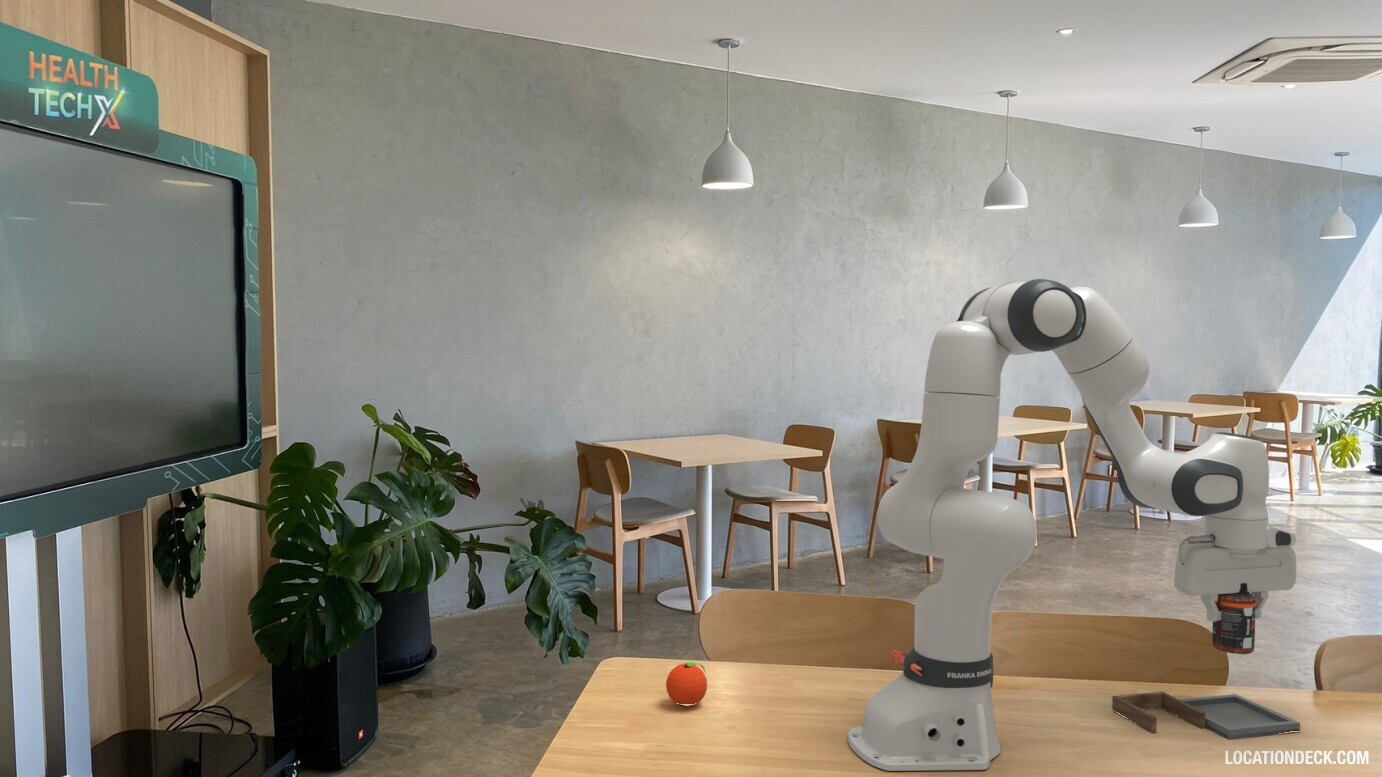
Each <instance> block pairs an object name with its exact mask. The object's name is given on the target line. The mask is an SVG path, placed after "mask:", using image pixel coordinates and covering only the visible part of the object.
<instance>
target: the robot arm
mask: <svg viewBox="0 0 1382 777" xmlns="http://www.w3.org/2000/svg"><path fill="white" fill-rule="evenodd" d="M1050 351H1052V352H1053V353H1054V355H1056V356H1057V358H1058V360H1059V362H1060V363H1061V366H1063V368H1064V370H1065V371H1066V373H1067V374H1068V375H1069V377H1070V379H1071V380H1072V381H1073V383H1074V385H1075V386H1076V388H1077V390H1078V392H1079V394H1080V396H1081V399H1082V403H1083V406H1084V408H1085V410H1086V412H1087V414H1088V417H1089V418H1090V420H1091V421H1092V423H1093V424H1092V425H1094V427H1095V430H1096V431H1097V433H1098V435H1099V437H1100V438H1101V440H1102V442H1103V444H1104V445H1105V448H1106V449H1107V451H1108V453H1109V455H1110V456H1111V458H1112V461H1113V463H1114V468H1115V471H1116V476H1117V477H1116V478H1117V482H1118V484H1119V487H1120V491H1121V492H1122V494H1123V495H1124V497H1125V498H1126V499H1127V500H1128V501H1129V502H1131V503H1132V505H1135V506H1137V507H1140V508H1144V509H1145V508H1146V509H1153V510H1159V511H1165V512H1169V513H1173V514H1178V515H1183V516H1187V517H1188V516H1189V517H1203V516H1204V534H1203V535H1197V536H1196V535H1189V536H1186V538H1185V539H1183V540H1182V541H1181V543H1179V545H1178V554H1177V558H1176V563H1175V570H1174V578H1173V579H1174V580H1173V585H1174V587H1175V589H1176V590H1177V592H1179V593H1181V594H1184V595H1187V596H1191V597H1196V596H1197V597H1198V596H1200V600H1201V602H1202V604H1203V606H1204V607H1205V609H1206V619H1207V620H1208V621H1210V622H1212V623H1213V622H1217V621H1222V620H1223V618H1222V615H1223V611H1221V610H1218V608H1217V606H1216V604H1215V602H1214V601H1217V600H1218V594H1230V593H1238V592H1240V591H1239V590H1240V589H1241V588H1240V584H1241V583H1247V589H1248V590H1247V591H1248V592H1250V594H1251V595H1253V596H1254V598H1255V607H1256V609H1255V620H1258V619H1259V620H1260V619H1261V618H1262V609H1263V608H1264V606H1265V604H1266V603H1267V601H1268V599H1269V592H1274V591H1276V592H1279V591H1290V590H1292V588H1293V587H1294V586H1295V584H1296V582H1297V556H1296V552H1295V549H1294V548H1293V547H1294V546H1295V545H1296V540H1297V538H1296V534H1295V533H1293V532H1292V531H1289V530H1284V529H1281V528H1278V527H1276V526H1273V525H1270V524H1269V513H1268V510H1267V504H1266V503H1267V502H1266V501H1267V498H1268V494H1269V491H1270V465H1269V464H1270V463H1269V457H1268V452H1267V449H1266V446H1265V443H1264V442H1263V441H1262V440H1260V439H1258V438H1257V437H1254V436H1249V435H1244V434H1239V433H1238V434H1237V433H1233V432H1226V431H1225V432H1223V431H1219V432H1214V433H1212V434H1211V436H1210V438H1209V439H1208V440H1206V441H1204V443H1203V444H1201V445H1199V446H1197V447H1195V448H1193V449H1191V450H1188V451H1185V452H1184V453H1181V452H1173V451H1168V450H1165V449H1162V448H1160V447H1158V446H1156V445H1155V444H1154V443H1152V442H1151V441H1150V440H1149V439H1148V438H1147V436H1146V434H1145V432H1144V430H1143V429H1142V427H1141V425H1140V423H1139V420H1138V419H1137V417H1136V416H1135V414H1134V411H1133V410H1132V408H1131V404H1130V400H1131V399H1133V398H1134V397H1136V396H1137V394H1139V393H1140V392H1141V391H1142V390H1143V388H1144V386H1145V385H1146V383H1147V381H1148V379H1149V378H1148V377H1149V374H1150V364H1149V362H1148V359H1147V355H1146V353H1145V351H1144V349H1143V348H1142V346H1141V344H1140V343H1139V341H1138V340H1137V338H1136V336H1135V335H1134V334H1133V332H1132V330H1130V328H1129V327H1128V325H1127V323H1125V321H1124V319H1123V318H1122V317H1121V316H1120V314H1118V312H1117V311H1116V310H1115V309H1114V308H1113V306H1112V305H1111V304H1110V303H1109V302H1108V301H1107V300H1106V299H1105V298H1104V297H1103V296H1102V295H1101V294H1100V293H1099V292H1098V291H1096V290H1095V289H1093V288H1091V287H1089V286H1075V287H1068V286H1066V285H1065V284H1064V283H1060V282H1059V281H1055V280H1051V279H1045V278H1036V279H1035V278H1034V279H1032V280H1031V279H1030V280H1025V281H1010V282H1009V281H1008V282H1005V283H1001V284H999V285H994V286H992V287H985V288H984V289H982V290H979V291H978V292H976V293H975V294H974V295H972V296H971V297H969V299H968V300H967V301H966V302H965V303H964V305H963V307H962V308H961V311H960V313H959V317H958V318H957V320H956V321H952V322H950V323H947V324H945V325H944V326H942V327H941V328H940V329H938V330H937V332H936V333H935V335H934V337H933V340H932V345H931V347H930V352H929V357H928V360H927V366H926V371H925V381H924V389H923V390H924V392H923V402H922V403H923V404H922V415H921V416H922V417H921V424H920V425H921V426H920V431H919V432H920V433H919V440H918V445H917V448H916V451H915V453H914V456H913V459H912V460H911V463H910V464H909V467H908V468H907V470H906V471H905V472H904V474H903V476H902V477H901V478H900V479H899V480H898V481H897V482H896V483H894V485H892V486H891V487H890V488H889V489H887V490H886V491H885V493H884V494H883V495H882V497H881V500H880V501H879V504H878V507H877V516H876V520H877V526H878V529H879V531H880V533H881V535H882V537H883V538H884V539H885V540H886V541H888V542H889V543H891V544H893V545H895V546H897V547H899V548H901V549H902V550H905V551H907V552H910V553H911V554H912V553H913V554H918V555H923V556H928V557H933V558H936V559H941V560H943V569H942V574H941V577H940V580H939V581H938V582H936V583H934V584H931V585H929V586H927V587H926V588H924V589H923V590H922V591H921V592H920V593H919V595H918V596H917V597H916V600H915V602H914V641H913V642H914V644H913V647H912V648H911V650H910V652H908V654H907V653H906V652H903V651H902V650H901V649H899V648H895V649H893V650H892V651H891V653H890V659H891V660H892V662H894V663H896V665H898V666H903V670H902V673H901V674H899V676H898V677H896V678H895V679H894V680H892V681H891V682H890V683H888V685H886V686H885V687H884V688H882V689H881V690H880V691H878V692H877V693H876V694H874V695H873V696H872V697H870V698H869V700H868V701H867V703H866V706H865V709H864V715H863V719H862V726H856V727H852V728H850V729H849V730H848V735H847V742H848V745H849V746H850V748H851V749H852V751H854V753H855V755H857V756H858V757H860V758H861V759H862V760H863V761H865V762H866V763H868V764H869V765H871V766H874V767H876V768H879V769H881V770H883V771H887V772H888V771H889V772H891V771H892V772H894V771H897V772H899V771H900V772H901V771H902V772H904V771H908V772H909V771H914V772H915V771H976V770H977V771H982V770H987V769H989V767H990V764H991V761H992V760H993V759H995V758H996V757H997V756H999V755H1000V753H1001V750H1002V747H1001V743H1000V740H999V736H998V733H997V728H996V723H995V718H994V716H995V715H994V710H993V699H992V688H993V684H994V655H993V653H992V652H991V634H992V620H993V619H992V618H993V616H992V615H993V607H994V602H995V599H996V596H997V593H998V592H999V589H1000V586H1001V585H1002V582H1003V581H1004V580H1005V579H1006V577H1007V576H1008V575H1009V574H1010V573H1011V572H1012V571H1014V570H1015V569H1016V568H1018V567H1020V566H1021V565H1023V564H1024V563H1025V562H1026V561H1027V560H1028V559H1029V558H1030V556H1031V555H1032V553H1033V552H1034V549H1035V546H1036V544H1037V540H1038V539H1037V538H1038V528H1037V526H1038V525H1037V522H1036V519H1035V516H1034V514H1033V512H1032V510H1031V508H1030V507H1029V506H1028V505H1027V504H1026V503H1024V502H1022V501H1020V500H1017V499H1014V498H1012V497H1010V496H1008V495H1007V496H1006V495H1004V494H1002V493H998V492H996V491H995V492H994V491H986V490H982V489H981V490H980V489H972V488H965V482H966V480H967V479H966V478H967V476H968V474H969V472H970V470H971V469H972V467H974V465H975V464H977V463H979V462H981V461H983V460H985V459H986V458H988V457H989V456H990V455H991V454H992V453H993V452H994V451H995V449H996V447H997V443H998V435H999V419H1000V418H999V417H1000V403H1001V383H1002V382H1001V378H1002V377H1001V376H1002V371H1003V368H1004V366H1005V362H1006V360H1007V359H1008V357H1009V356H1011V355H1013V356H1022V355H1028V354H1029V355H1030V354H1034V353H1037V352H1038V353H1041V352H1042V353H1044V352H1050Z"/></svg>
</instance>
